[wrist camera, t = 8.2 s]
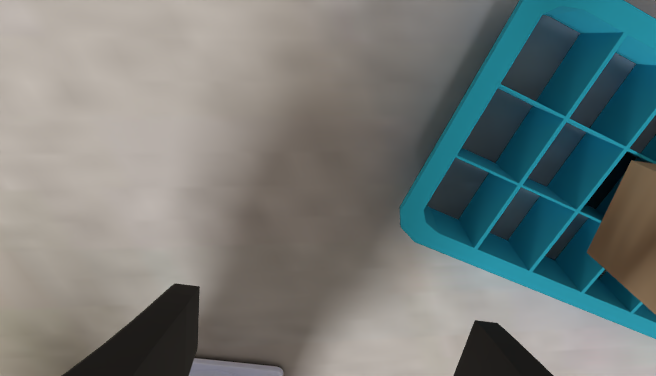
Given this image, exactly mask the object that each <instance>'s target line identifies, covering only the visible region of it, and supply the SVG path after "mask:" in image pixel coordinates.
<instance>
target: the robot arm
mask: <svg viewBox="0 0 656 376" xmlns="http://www.w3.org/2000/svg"><path fill="white" fill-rule="evenodd" d="M199 288H200V287H199V286H191V285H183V284H174V285H172V286H171V287H170V288H169V289H167V290H166V291H165V292H164V293H163V294H162V295H161V296H160V297H159V298H157V299H156V300H155V301H154V302H153V303H152V304H151V305H150V306H148V307H147V308H146V309H145V310H144V311H143V312H142V313H140V314H139V315H138V316H137V317H136V318H135V319H133V320H132V321H131V322H130V323H129V324H127V325H126V326H125V327H124V328H123V329H121V330H120V331H119V332H118V333H117V334H115V335H114V336H113V337H112V338H111V339H109V340H108V341H107V342H106V343H104V344H103V345H102V346H101V347H99V348H98V349H97V350H95V351H94V352H93V353H91V354H90V355H89V356H87V357H86V358H85V359H83V360H82V361H81V362H79V363H78V364H77V365H76V366H74V367H73V368H72V369H70V370H69V371H68V372H66V373H65V374H63V375H62V376H283V370H282V369H281V368H280V367H276V366H267V365H257V364H247V363H238V362H228V361H218V360H208V359H199V358H194V357H195V354H196V351H197V344H198V316H199ZM454 376H553V375H552V374H551V373H550V372H549V371H548V370H547V369H546V368H545V367H544V366H543V365H542V364H541V363H540V362H539V361H538V360H537V359H536V358H534V357H533V356H532V355H531V354H530V353H529V352H528V351H527V350H526V349H525V348H524V347H523V346H522V345H521V344H520V343H519V342H518V341H517V340H516V339H515V338H513V337H512V336H511V335H510V334H509V333H508V332H507V331H506V330H505V329H504V328H502V327H501V326H500V325H499V324H498V323H493V322H484V321H476V320H475V322H474V324H473V327H472V329H471V332H470V335H469V337H468V340H467V342H466V345H465V347H464V350H463V353H462V355H461V358H460V360H459V363H458V366H457V368H456V371H455V373H454Z"/></svg>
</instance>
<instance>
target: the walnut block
mask: <svg viewBox="0 0 656 376" xmlns="http://www.w3.org/2000/svg"><path fill="white" fill-rule="evenodd" d="M587 253H588V254H589V255H590V256H591V257H592V258H593V259H594V260H595V261H597V262H598V263H599V264H600V265H601V266H602V267H603V268H604V269H605V270H606V271H608V272H609V273H610V274H611V275H612V276H613V277H614V278H615V279H616V280H618V281H619V282H620V283H621V284H622V285H623V286H624V287H625V288H626V289H628V290H629V291H630V292H631V293H632V294H633V295H634V296H635V297H636V298H638V299H639V300H640V301H641V302H642V303H643V304H644V305H645V306H646V307H648V308H649V309H650V310H651V311H652V312H653V313H654V314H655V315H656V164H653V163H646V162H639V161H632V160H631V162H630V164H629V166H628V168H627V170H626V172H625V174H624V176H623V178H622V180H621V182H620V185H619V187H618V189H617V191H616V193H615V195H614V197H613V199H612V201H611V203H610V205H609V207H608V209H607V211H606V213H605V215H604V217H603V219H602V222H601V224H600V226H599V228H598V230H597V232H596V234H595V236H594V238H593V240H592V242H591V244H590V246H589V248H588V250H587Z"/></svg>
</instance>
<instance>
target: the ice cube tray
mask: <svg viewBox="0 0 656 376" xmlns="http://www.w3.org/2000/svg"><path fill="white" fill-rule="evenodd" d="M542 15H546V16H550V17H551V18H553V19H555V20H557V21H559V22H561V23H562V24H564V25H566V26H568V27H570V28H572V29H573V30H575V31H577V32H579V33H580V35H579V36H578V38H577V39H576V41H575V42H574V44H573V45H572V47H571V48H570V50H569V51H568V53H567V54H566V56H565V58H564V59H563V61H562V62H561V64H560V65H559V67H558V68H557V70H556V71H555V73H554V74H553V76H552V77H551V79H550V80H549V82H548V83H547V85H546V87H545V88H544V90H543V91H542V93H541V94H540V96H539V97H538V99H537V100H536V101H534V100H532V99H530V98H528V97H526V96H524V95H522V94H520V93H518V92H516V91H514V90H512V89H510V88H508V87H506V86H504V85H502V84H501V82H502V80H503V79H504V77H505V76H506V74H507V72H508V71H509V69H510V67H511V66H512V64H513V62H514V61H515V59H516V58H517V56H518V54H519V53H520V51H521V49H522V48H523V46H524V44H525V43H526V41H527V39H528V38H529V36H530V35H531V33H532V31H533V30H534V28H535V26H536V25H537V23H538V21H539V20H540V18H541V16H542ZM615 53H617V54H619V55H621V56H623V57H624V58H626V59H628V60H630V61H632V62H634V63H635V64H636V65H635V66H634V68H633V69H632V70H631V72H630V73H629V75H628V76H627V77H626V79H625V80H624V81H623V83H622V84H621V86H620V87H619V88H618V90H617V91H616V92H615V94H614V95H613V97H612V98H611V99H610V101H609V102H608V103H607V105H606V106H605V107H604V109H603V110H602V112H601V113H600V114H599V116H598V117H597V118H596V120H595V121H594V123H593V124H592V125H591V127H590V128H588V127H586V126H584V125H582V124H580V123H578V122H576V121H574V120H572V119H570V117H571V115H572V114H573V112H574V111H575V109H576V108H577V107H578V105H579V104H580V102H581V101H582V99H583V98H584V97H585V95H586V94H587V92H588V91H589V89H590V88H591V87H592V85H593V84H594V82H595V81H596V79H597V78H598V77H599V75H600V74H601V72H602V71H603V69H604V68H605V67H606V65H607V64H608V62H609V61H610V59H611V58H612V57H613V55H614V54H615ZM497 89H500V90H502V91H504V92H506V93H508V94H510V95H512V96H514V97H516V98H518V99H520V100H522V101H524V102H526V103H528V104H530V105H532V108H531V109H530V111H529V112H528V114H527V116H526V117H525V119H524V120H523V122H522V123H521V125H520V126H519V128H518V129H517V131H516V132H515V134H514V135H513V137H512V138H511V140H510V141H509V143H508V145H507V146H506V148H505V149H504V151H503V152H502V154H501V155H500V157H499V158H498V160H497V161H496V163H494V162H492V161H490V160H487V159H485V158H483V157H481V156H479V155H477V154H474V153H472V152H470V151H468V150H466V149H463V148H462V146H463V144H464V143H465V141H466V140H467V138H468V136H469V135H470V133H471V131H472V130H473V128H474V126H475V125H476V123H477V121H478V120H479V118H480V117H481V115H482V113H483V112H484V110H485V108H486V107H487V105H488V103H489V102H490V100H491V99H492V97H493V95H494V94H495V92H496V90H497ZM655 115H656V19H655V18H653V17H652V16H650V15H648V14H646V13H645V12H643V11H641V10H639V9H638V8H636V7H634V6H633V5H631V4H629V3H627V2H626V1H624V0H520V1H519V2H518V4H517V6H516V7H515V9H514V11H513V13H512V14H511V16H510V18H509V19H508V21H507V23H506V25H505V26H504V28H503V30H502V32H501V33H500V35H499V37H498V38H497V40H496V42H495V44H494V45H493V47H492V49H491V50H490V52H489V54H488V56H487V57H486V59H485V61H484V63H483V64H482V66H481V68H480V69H479V71H478V73H477V75H476V76H475V78H474V80H473V81H472V83H471V85H470V87H469V88H468V90H467V92H466V94H465V95H464V97H463V99H462V100H461V102H460V104H459V106H458V107H457V109H456V111H455V112H454V114H453V116H452V118H451V119H450V121H449V123H448V125H447V126H446V128H445V130H444V131H443V133H442V135H441V137H440V138H439V140H438V142H437V143H436V145H435V147H434V149H433V150H432V152H431V154H430V156H429V157H428V159H427V161H426V162H425V164H424V166H423V168H422V169H421V171H420V173H419V174H418V176H417V178H416V180H415V181H414V183H413V185H412V187H411V188H410V190H409V192H408V193H407V195H406V197H405V199H404V200H403V202H402V204H401V205H400V225H401V228H402V229H403V230H404V231H405V232H406V233H407V234H408V235H409V237H410V238H411V239H412V240H413V241H414V242H416V243H419V244H421V245H424V246H426V247H428V248H431V249H433V250H436V251H438V252H441V253H443V254H446V255H448V256H451V257H453V258H456V259H458V260H461V261H463V262H466V263H468V264H471V265H473V266H476V267H478V268H481V269H483V270H486V271H488V272H491V273H493V274H496V275H498V276H501V277H503V278H505V279H508V280H510V281H513V282H515V283H518V284H520V285H523V286H525V287H528V288H530V289H533V290H535V291H538V292H540V293H543V294H545V295H548V296H550V297H553V298H555V299H558V300H560V301H563V302H565V303H568V304H570V305H573V306H575V307H578V308H580V309H582V310H585V311H587V312H590V313H592V314H595V315H597V316H600V317H602V318H605V319H607V320H610V321H612V322H615V323H617V324H620V325H622V326H625V327H627V328H630V329H632V330H635V331H637V332H640V333H642V334H645V335H647V336H650V337H652V338H655V339H656V315H655V314H654V313H653V312H652V311H651V310H650V309H649V308H648V307H646V306H645V305H644V304H643V303H642V302H641V301H640V300H639V299H638V298H636V297H635V296H634V295H633V294H632V293H631V292H630V291H629V290H628V289H626V288H625V287H624V286H623V285H622V284H621V283H620V282H619V281H618V280H616V279H615V278H614V277H613V276H612V275H611V274H610V273H609V272H608V271H606V272H605V274H604V275H603V276H602V277H601V278H600V279H598V277H599V276H600V275H601V273H602V272H603V271H604V270H605V269H604V268H603V267H602V266H601V265H600V264H599V263H598V262H597V261H595V260H594V259H593V258H592V257H591V256H590V255H589V254H588V253H587V250H588V248H589V246H590V244H591V242H592V240H593V238H594V236H595V234H596V232H597V230H598V228H599V226H600V224H601V222H602V219H603V217H604V215H605V213H606V211H607V209H608V207H609V205H610V203H611V201H612V199H613V197H614V195H615V193H616V191H617V189H618V187H619V185H620V182H621V180H622V178H623V176H624V174H625V173H624V174H623V176H622V177H621V178H620V179H619V181H618V182H617V183H616V184H615V186H614V187H613V188H612V189H611V191H610V192H609V193H608V194H607V196H606V197H605V198H604V199H603V201H602V202H601V203H600V204H599V206H598V207H597V208H596V209H594V208H592V207H590V206H588V205H585V204H586V203H587V202H588V200H589V199H590V198H591V197H592V195H593V194H594V193H595V191H596V190H597V189H598V188H599V186H600V185H601V184H602V183H603V181H604V180H605V179H606V177H607V176H608V175H609V174H610V172H611V171H612V170H613V169H614V167H615V166H616V165H617V163H618V162H619V161H620V160H621V158H622V157H623V156H624V155H625V153H626V152H627V153H629V154H631V155H633V156H635V157H637V158H636V159H635V161H639V162H646V163H653V164H656V134H655V136H654V137H653V138H652V139H651V141H650V142H649V143H648V144H647V146H646V147H645V148H644V149H643V151H642V152H641V153H638V152H636V151H634V150H632V149H630V147H631V146H632V144H633V143H634V142H635V141H636V139H637V138H638V137H639V135H640V134H641V133H642V132H643V130H644V129H645V128H646V127H647V125H648V124H649V123H650V121H651V120H652V119H653V118H654V116H655ZM566 122H567V123H569V124H571V125H573V126H575V127H577V128H579V129H581V130H583V131H585V132H586V134H585V135H584V136H583V138H582V139H581V140H580V142H579V143H578V145H577V146H576V147H575V149H574V150H573V151H572V153H571V154H570V156H569V157H568V158H567V160H566V161H565V162H564V164H563V165H562V167H561V168H560V169H559V171H558V172H557V173H556V175H555V176H554V178H553V179H552V180H551V182H550V183H549V184H548V186H547V187H546V186H544V185H542V184H540V183H538V182H535V181H533V180H531V179H529V178H528V176H529V175H530V174H531V172H532V171H533V169H534V168H535V166H536V165H537V164H538V162H539V161H540V159H541V158H542V156H543V155H544V154H545V152H546V151H547V149H548V148H549V146H550V145H551V144H552V142H553V141H554V139H555V138H556V136H557V135H558V134H559V132H560V131H561V129H562V128H563V127H564V125H565V124H566ZM455 158H458V159H460V160H462V161H464V162H467V163H469V164H471V165H473V166H475V167H478V168H480V169H482V170H484V171H486V172H489V174H488V175H487V177H486V178H485V180H484V181H483V183H482V184H481V186H480V187H479V189H478V190H477V192H476V193H475V195H474V196H473V198H472V199H471V201H470V203H469V204H468V206H467V207H466V209H465V210H464V212H463V213H462V215H461V216H460V218H459V219H456V218H454V217H451V216H449V215H446V214H444V213H442V212H439V211H437V210H435V209H432V208H430V207H429V206H428V205H427V204H428V202H429V200H430V199H431V197H432V195H433V194H434V192H435V190H436V189H437V187H438V185H439V184H440V182H441V181H442V179H443V177H444V176H445V174H446V172H447V171H448V169H449V167H450V166H451V164H452V163H453V161H454V159H455ZM521 187H522V188H524V189H526V190H528V191H531V192H533V193H535V194H537V195H539V196H540V197H539V198H538V199H537V201H536V202H535V204H534V205H533V206H532V208H531V209H530V210H529V212H528V213H527V215H526V216H525V217H524V219H523V220H522V221H521V223H520V224H519V226H518V227H517V228H516V230H515V231H514V232H513V234H512V235H511V237H510V238H509V239H508V240H506V239H503V238H501V237H499V236H496V235H494V234H491V233H489V232H490V231H491V229H492V228H493V226H494V225H495V224H496V222H497V221H498V219H499V218H500V216H501V215H502V214H503V212H504V211H505V209H506V208H507V206H508V205H509V204H510V202H511V201H512V199H513V198H514V196H515V195H516V194H517V192H518V191H519V189H520V188H521ZM578 213H579V214H581V215H584V216H586V217H588V219H587V221H586V222H585V223H584V224H583V226H582V227H581V228H580V229H579V231H578V232H577V233H576V234H575V236H574V237H573V238H572V239H571V241H570V242H569V243H568V244H567V246H566V247H565V248H564V249H563V251H562V252H561V253H560V254H559V256H558V257H557V258H556V259H555V260H553V259H551V258H548V257H546V256H545V255H546V254H547V253H548V251H549V250H550V249H551V247H552V246H553V245H554V244H555V242H556V241H557V240H558V239H559V237H560V236H561V235H562V233H563V232H564V231H565V230H566V228H567V227H568V226H569V225H570V223H571V222H572V221H573V219H574V218H575V217H576V216H577V214H578Z"/></svg>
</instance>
